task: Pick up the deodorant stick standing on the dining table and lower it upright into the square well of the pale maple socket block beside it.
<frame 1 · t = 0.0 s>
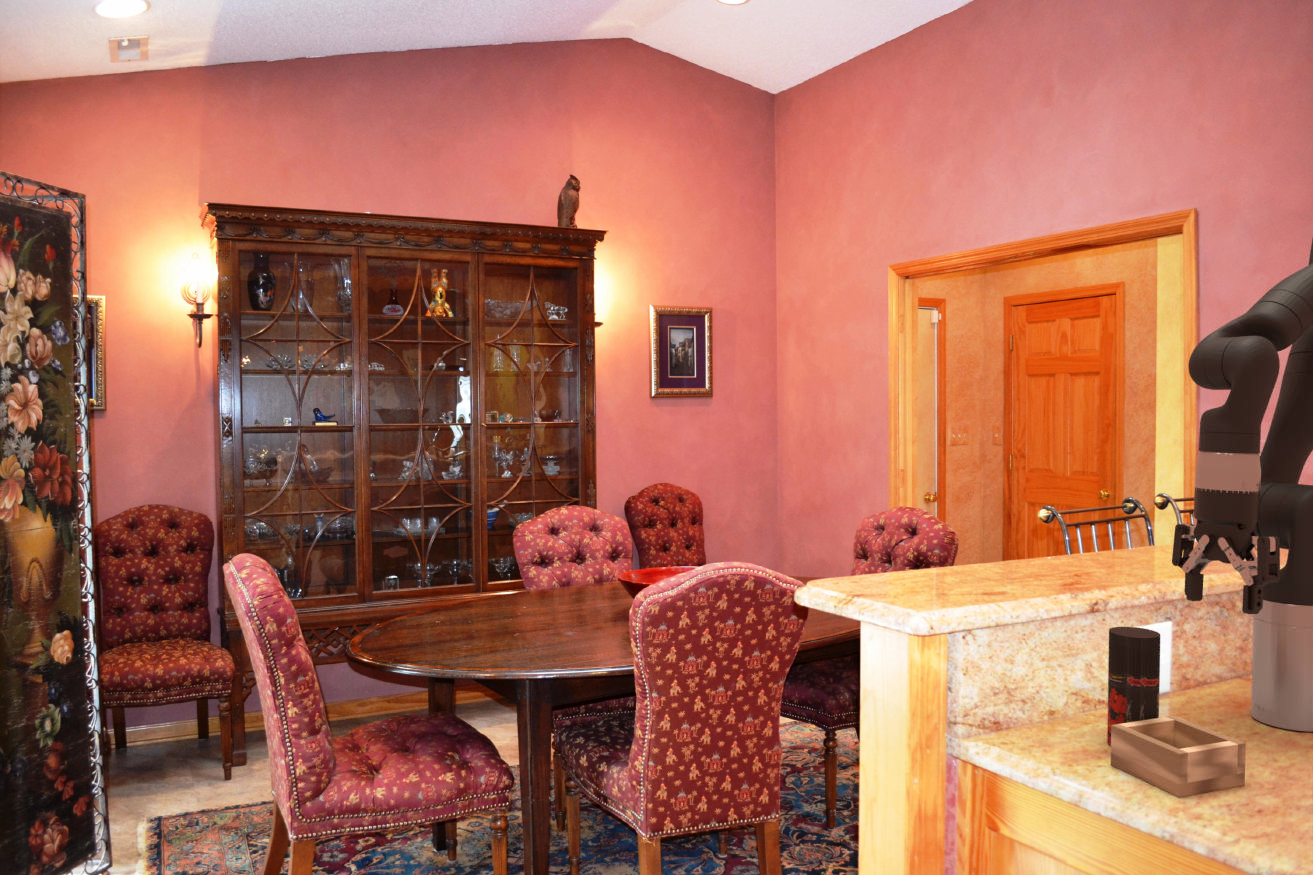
hand: (1221, 606, 127), 17 cm above the counter, tool pointing down, fingers open, 8 cm apart
deodorant: (1132, 747, 123), on the counter
socket block: (1175, 774, 114), on the counter
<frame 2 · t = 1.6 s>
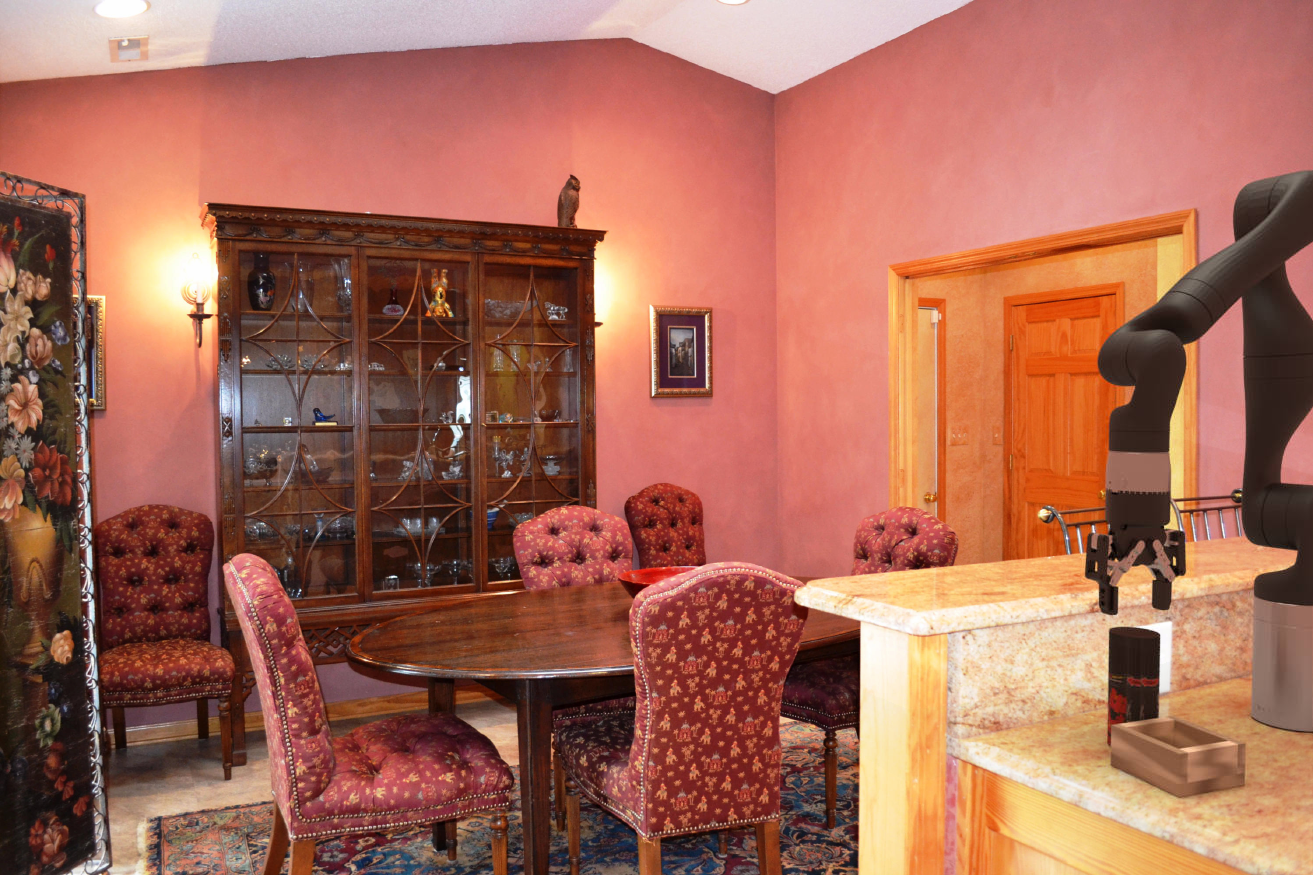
hand: (1134, 611, 122), 18 cm above the counter, tool pointing down, fingers open, 8 cm apart
nothing on the counter moved.
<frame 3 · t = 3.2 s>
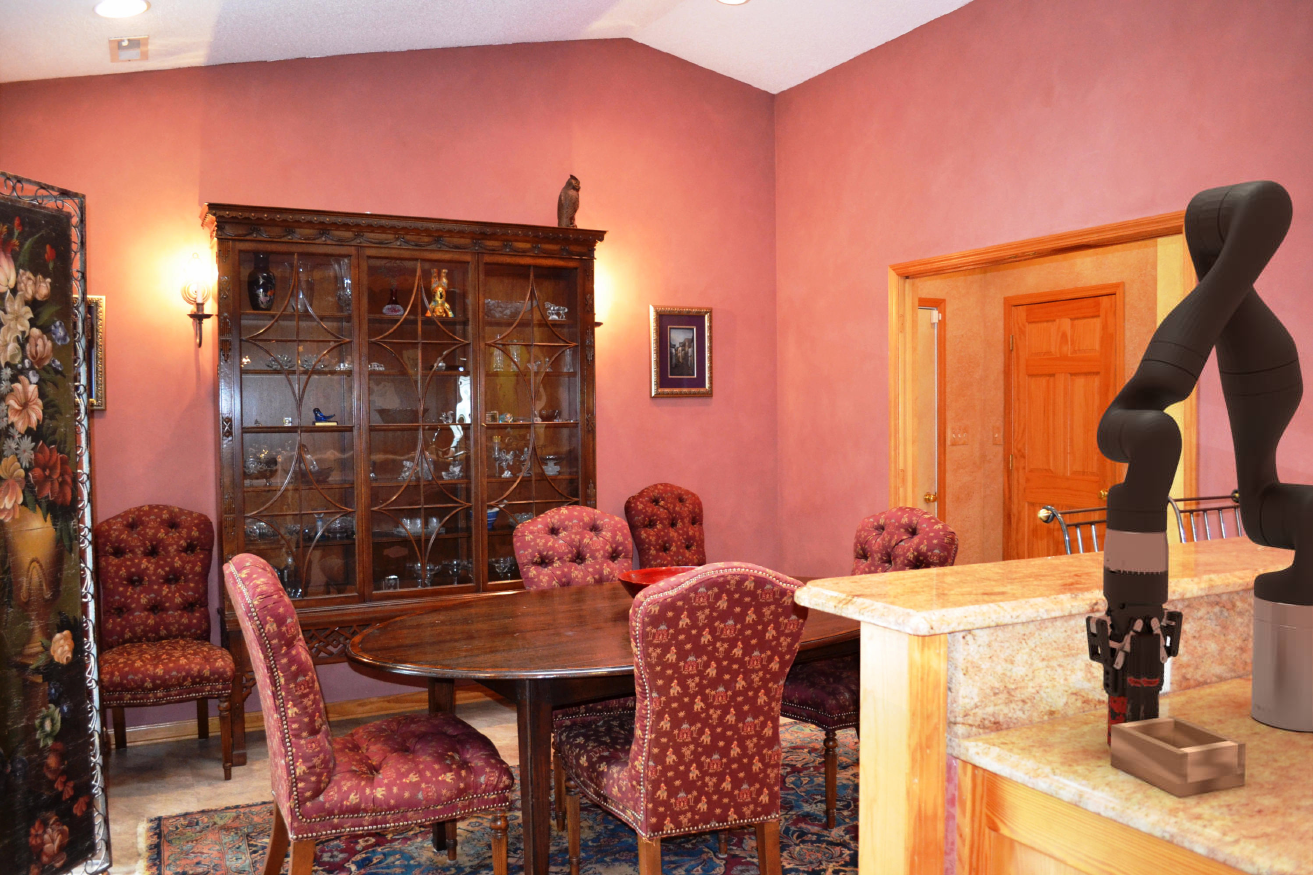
hand: (1133, 692, 123), 7 cm above the counter, tool pointing down, fingers closed on deodorant, 6 cm apart
deodorant: (1132, 747, 123), on the counter, touching gripper
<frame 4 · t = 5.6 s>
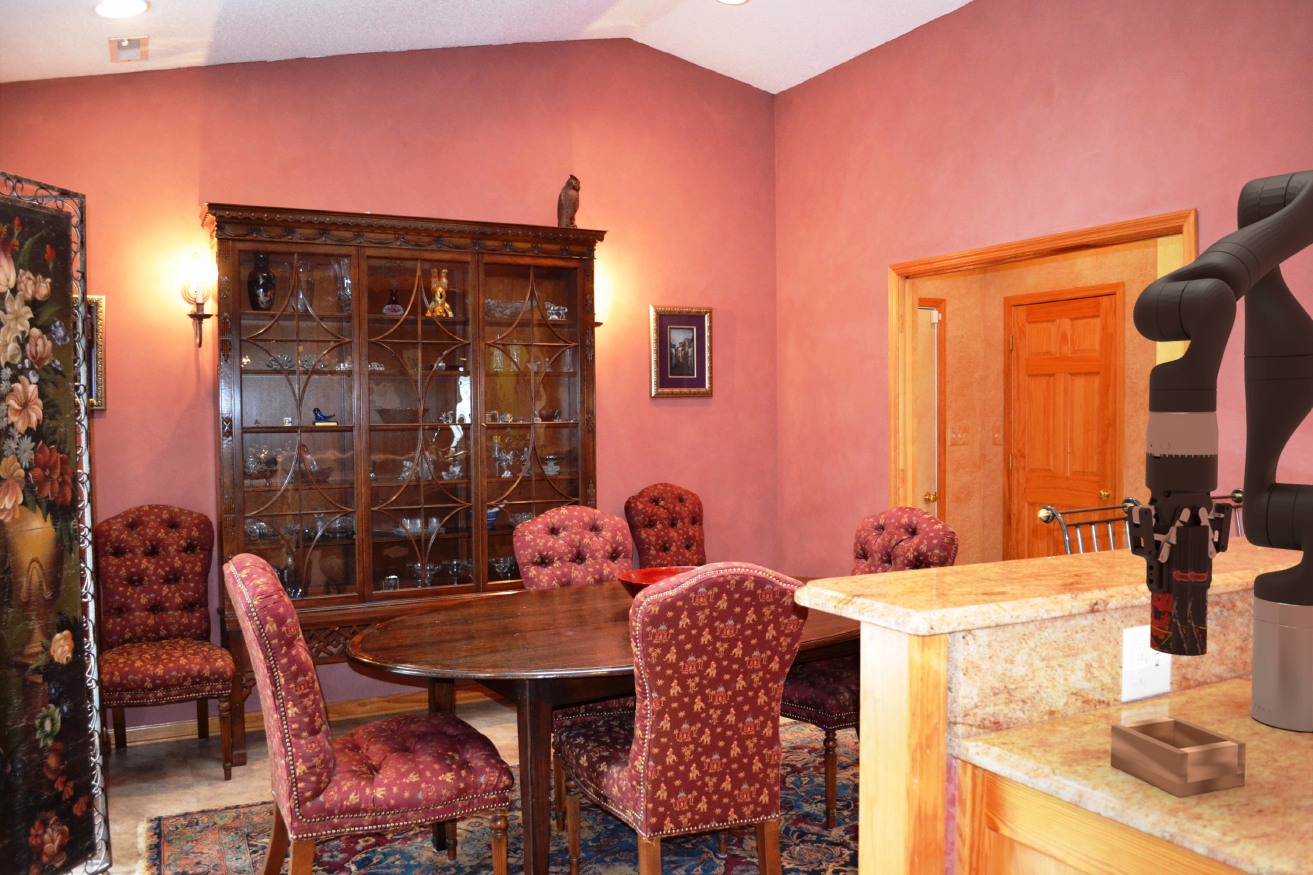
hand: (1178, 590, 113), 22 cm above the counter, tool pointing down, fingers closed on deodorant, 6 cm apart
deodorant: (1178, 650, 113), point 15 cm above the counter, touching gripper
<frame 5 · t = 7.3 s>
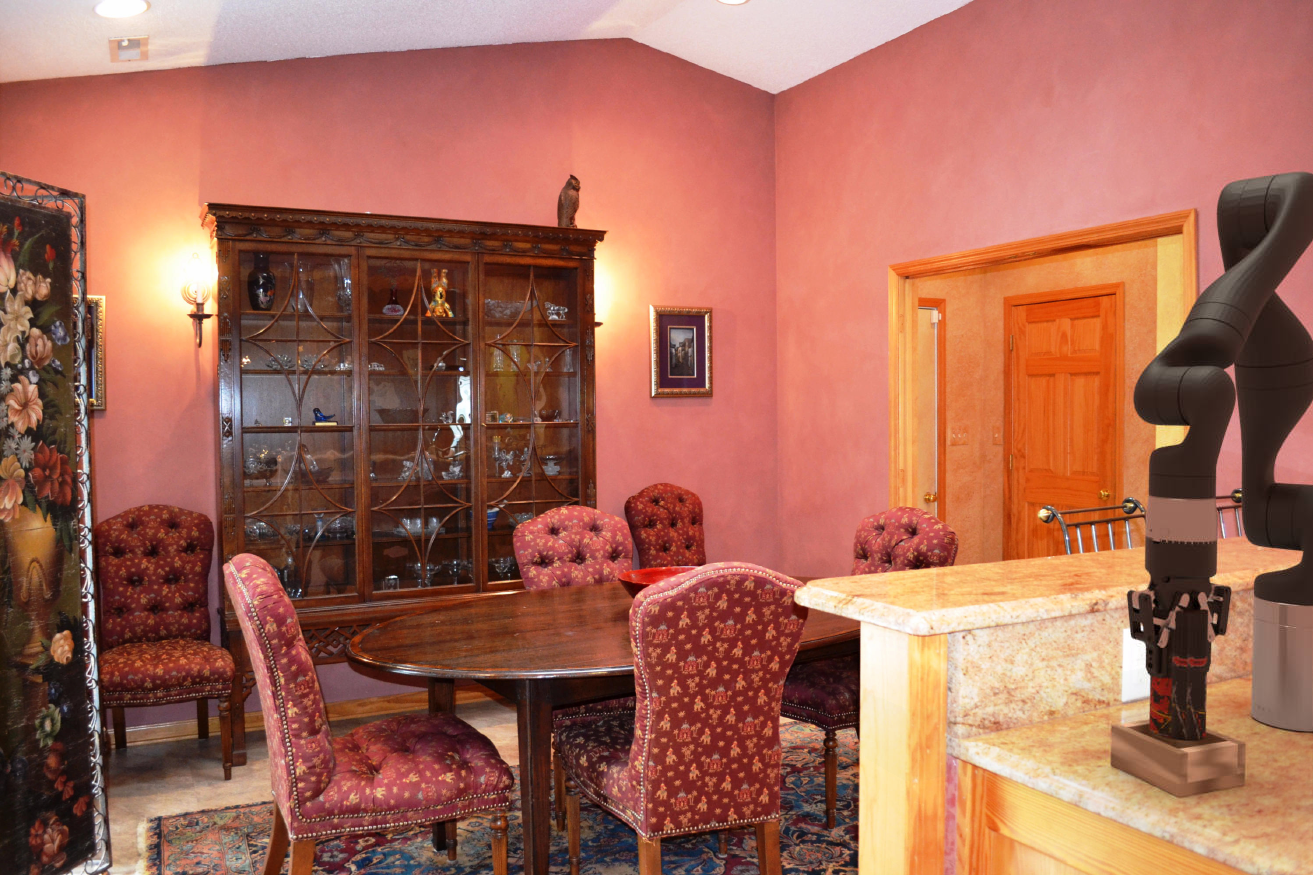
hand: (1178, 673, 113), 12 cm above the counter, tool pointing down, fingers closed on deodorant, 6 cm apart
deodorant: (1177, 733, 113), point 5 cm above the counter, touching gripper
when the fingers open (11 cm above the counter, at t = 8.2 s): deodorant drops 2 cm, resting on socket block.
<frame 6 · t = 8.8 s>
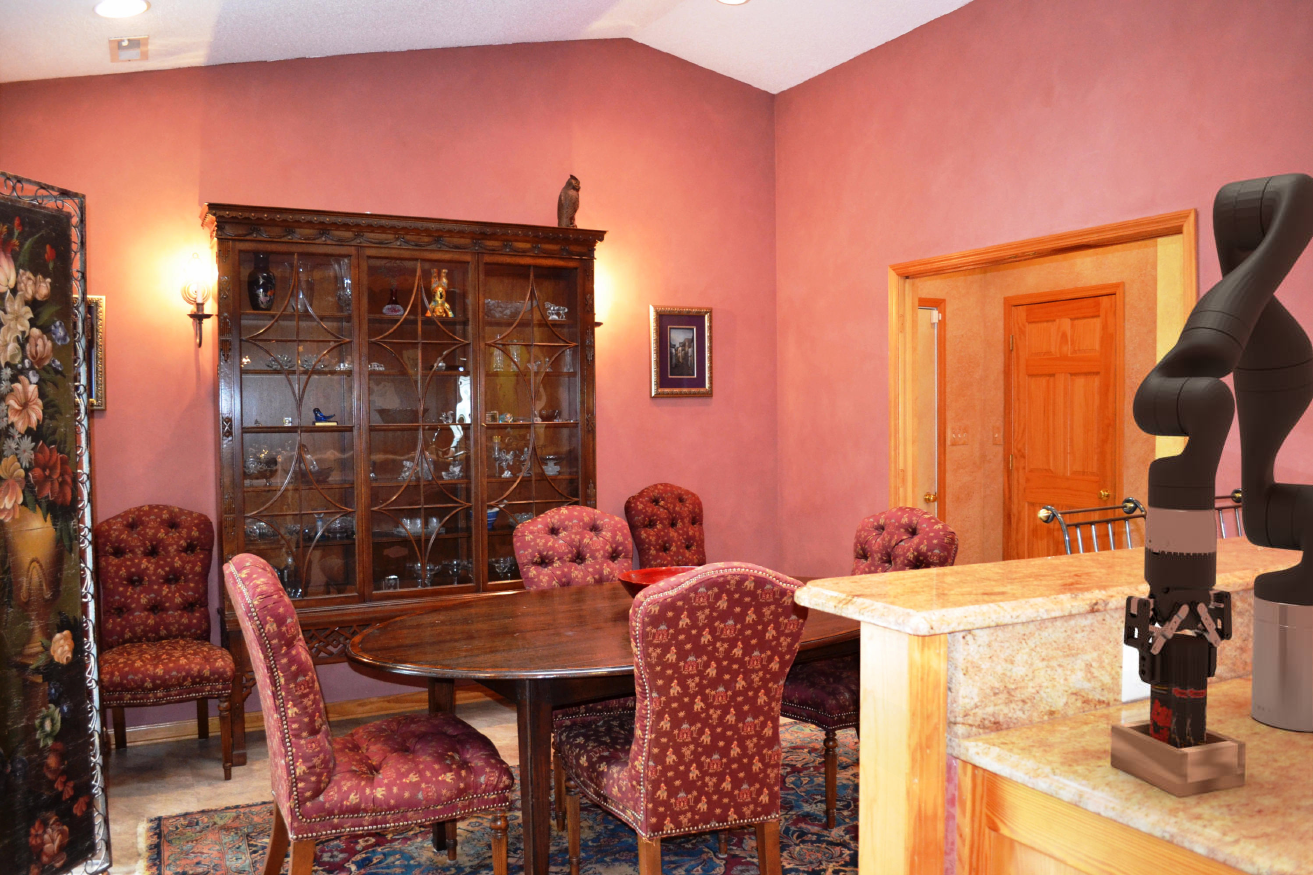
hand: (1177, 679, 113), 12 cm above the counter, tool pointing down, fingers open, 8 cm apart
deodorant: (1176, 763, 114), point 1 cm above the counter, touching socket block
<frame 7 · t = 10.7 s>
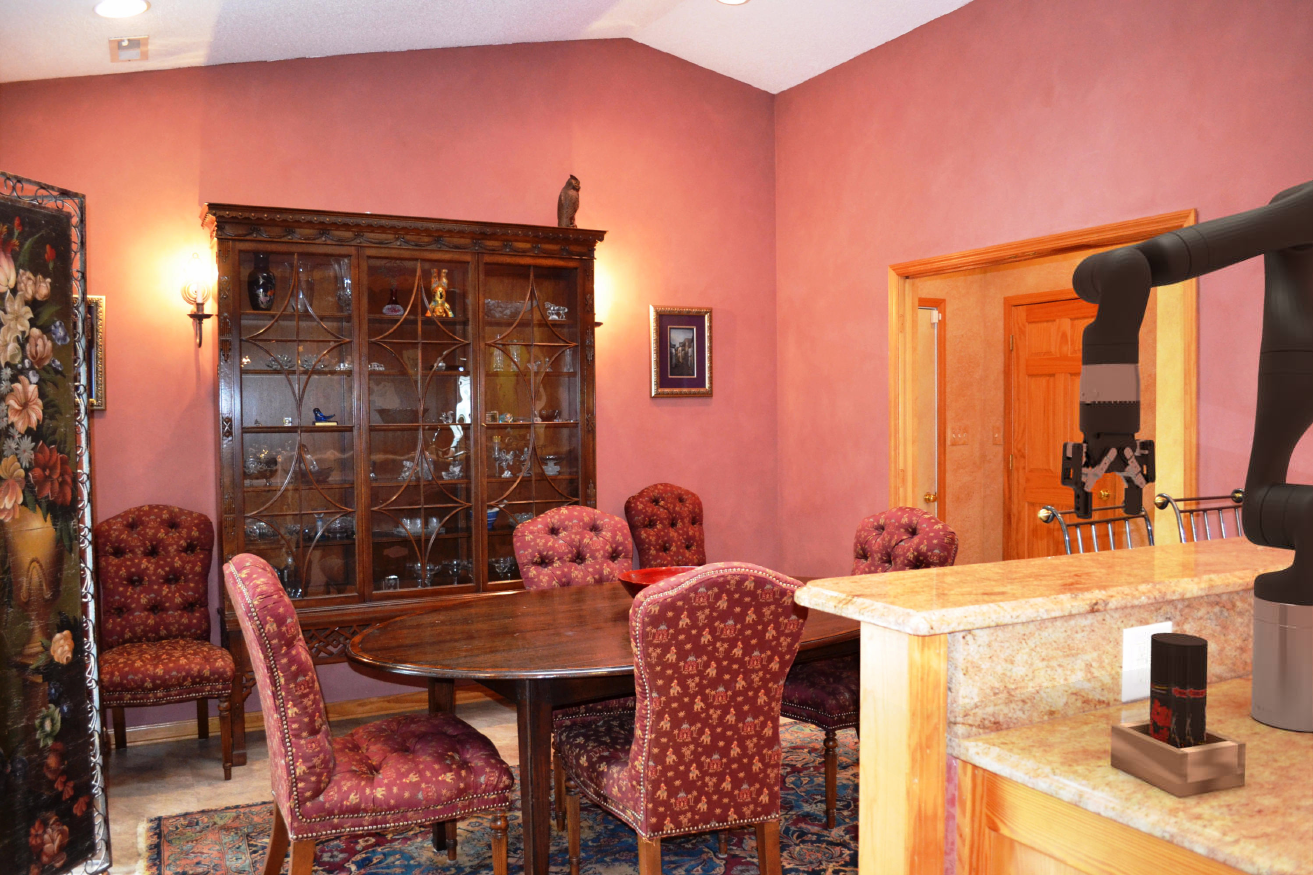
hand: (1108, 516, 129), 29 cm above the counter, tool pointing down, fingers open, 8 cm apart
nothing on the counter moved.
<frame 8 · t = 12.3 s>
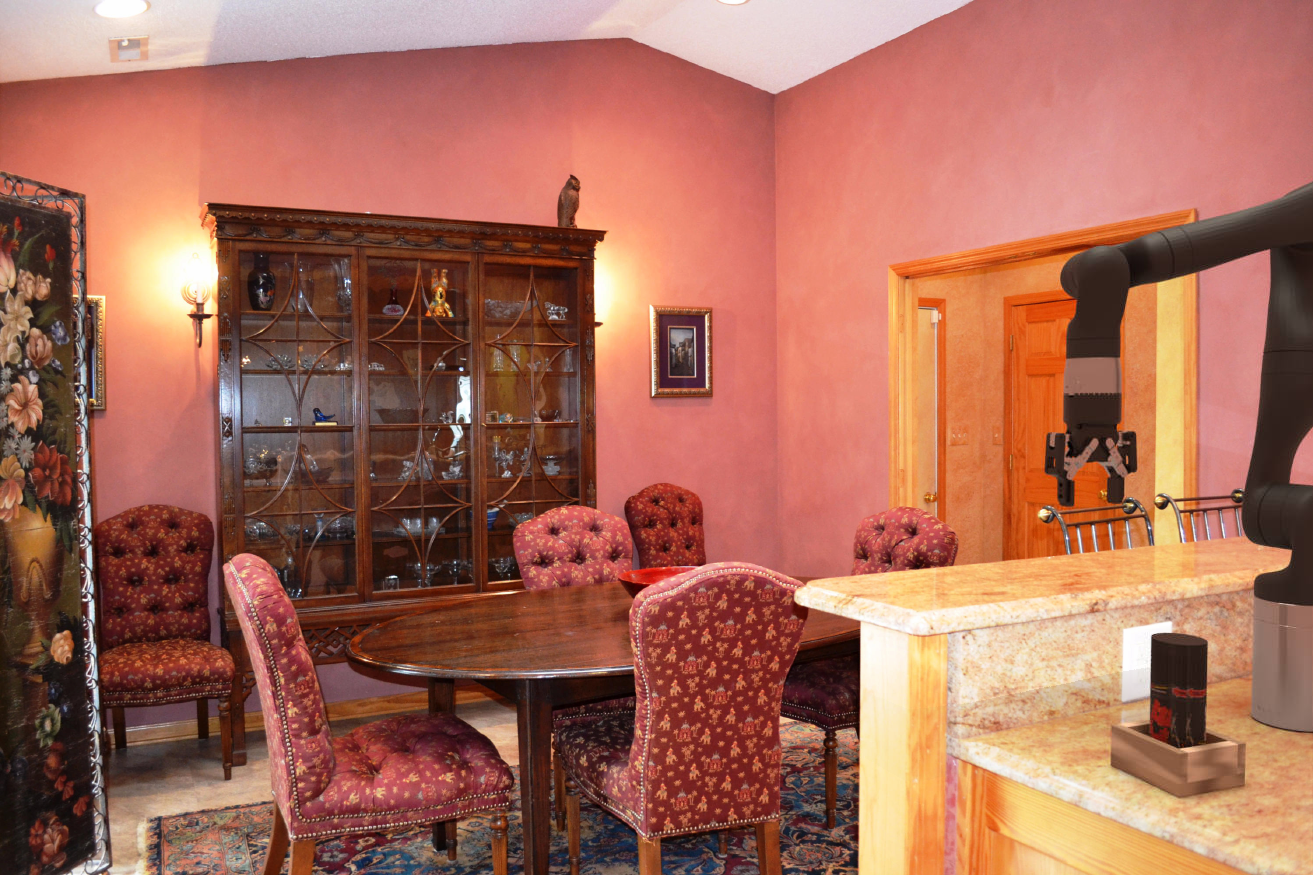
hand: (1090, 504, 134), 30 cm above the counter, tool pointing down, fingers open, 8 cm apart
nothing on the counter moved.
at the end: deodorant 0.2 cm off-centre on the socket block, point 1.3 cm above the socket block's base; deodorant tilted 0°; the gripper is holding nothing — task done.
